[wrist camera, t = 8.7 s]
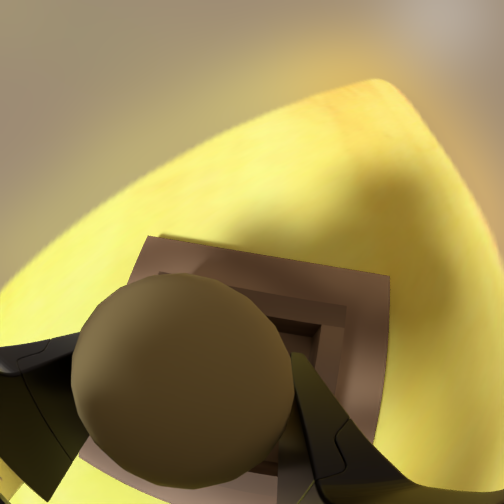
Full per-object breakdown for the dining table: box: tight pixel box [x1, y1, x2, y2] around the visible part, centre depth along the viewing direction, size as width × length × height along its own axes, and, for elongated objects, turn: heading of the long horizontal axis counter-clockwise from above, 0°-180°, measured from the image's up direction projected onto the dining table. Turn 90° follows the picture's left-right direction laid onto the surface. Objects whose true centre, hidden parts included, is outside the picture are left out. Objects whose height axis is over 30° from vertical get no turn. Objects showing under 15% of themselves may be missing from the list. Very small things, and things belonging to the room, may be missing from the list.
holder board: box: [79, 236, 390, 504], centre depth 13 cm, size 18×18×4 cm
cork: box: [71, 273, 295, 490], centre depth 9 cm, size 6×6×11 cm
